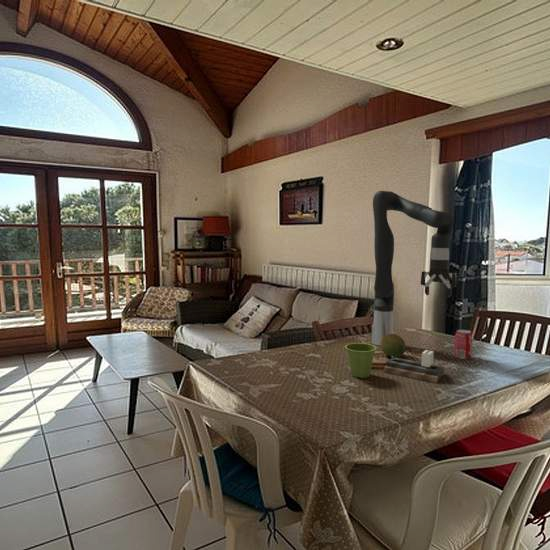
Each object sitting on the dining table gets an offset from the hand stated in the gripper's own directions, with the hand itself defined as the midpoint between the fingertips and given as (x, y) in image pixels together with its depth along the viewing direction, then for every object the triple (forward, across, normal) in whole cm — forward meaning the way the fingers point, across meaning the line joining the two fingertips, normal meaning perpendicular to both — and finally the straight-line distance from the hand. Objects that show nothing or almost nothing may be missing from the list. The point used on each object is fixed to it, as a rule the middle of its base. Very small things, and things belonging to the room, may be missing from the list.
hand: (437, 296), depth 170 cm
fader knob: (+26, +3, -23) cm, 35 cm away
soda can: (+28, +9, +10) cm, 31 cm away
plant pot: (+28, -18, -38) cm, 51 cm away
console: (+28, -2, -23) cm, 36 cm away
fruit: (+28, -16, -7) cm, 33 cm away
